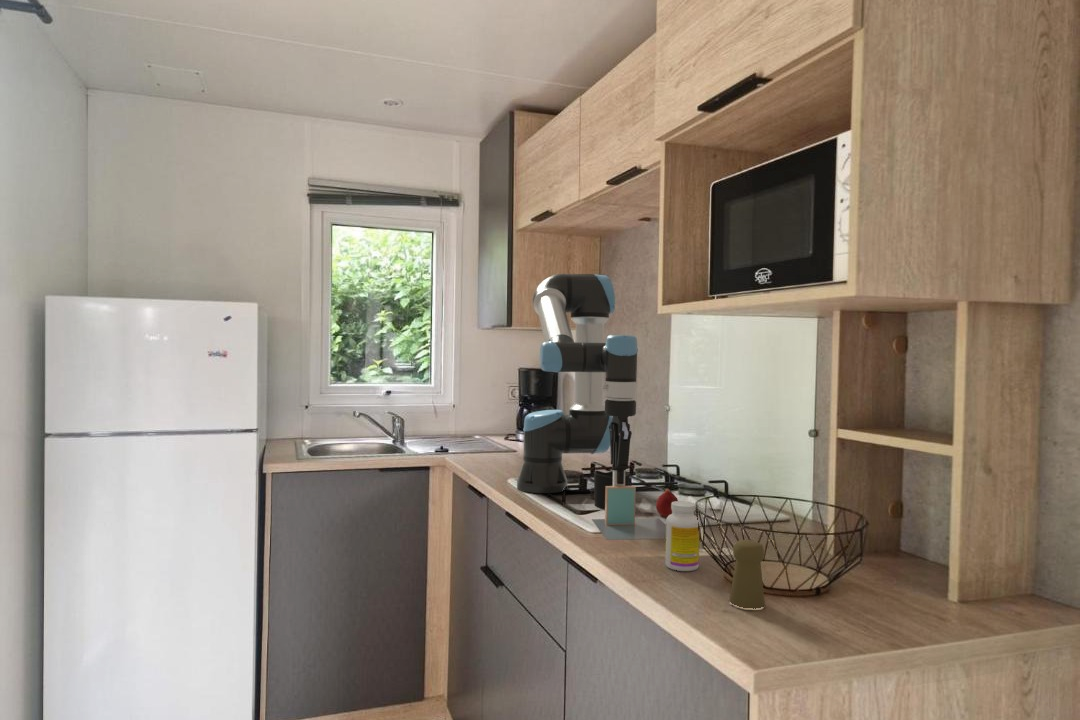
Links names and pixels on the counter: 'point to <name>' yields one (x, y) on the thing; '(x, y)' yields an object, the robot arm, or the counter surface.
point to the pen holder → (601, 482)
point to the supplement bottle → (682, 537)
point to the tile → (620, 505)
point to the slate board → (633, 529)
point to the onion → (665, 503)
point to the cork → (747, 575)
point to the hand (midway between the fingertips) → (618, 496)
